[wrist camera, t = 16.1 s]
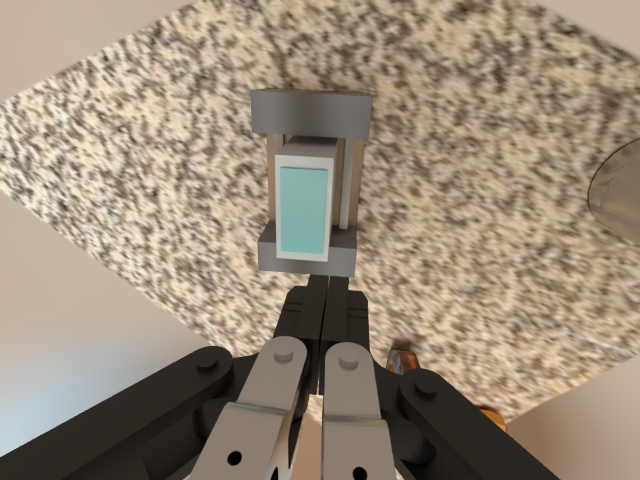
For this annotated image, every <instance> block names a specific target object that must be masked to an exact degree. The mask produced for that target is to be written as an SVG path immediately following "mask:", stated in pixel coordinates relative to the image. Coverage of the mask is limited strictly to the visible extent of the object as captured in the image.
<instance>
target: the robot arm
mask: <svg viewBox="0 0 640 480" xmlns="http://www.w3.org/2000/svg"><path fill="white" fill-rule="evenodd" d="M589 206H590V210H591V212H592V214H593V216H594V217H595V218H596V219H597V220H598V221H599V222H600V223H602V224H603V225H605V226H607V227H608V228H610V229H612V230H614V231H615V232H617V233H619V234H620V235H622V236H624V237H626V238H627V239H629V240H631V241H632V242H634V243H635V244H637V245H639V246H640V140H637V141H635V142H633V143H631V144H629V145H627V146H625V147H623V148H622V149H620V150H619V151H617V152H616V153H615V154H613V155H612V156H611V157H610V158H609V159H608V160H607V161H606V162H605V163H604V164H603V165H602V167H601V168H600V169H599V171H598V172H597V174H596V176H595V177H594V179H593V181H592V184H591V187H590V190H589ZM348 285H349V277H342V276H330V281H329V275H317V274H310V277H309V281H308V285H307V286H295V287H293V288H292V289H291V290H290V291H289V292H288V293H287V296H286V299H285V303H284V305H283V308H282V311H281V314H280V317H279V320H278V323H277V326H276V329H275V332H274V335H273V338H272V339H271V340H269V341H268V342H266V343H265V344H264V345H263V347H262V348H261V350H260V352H258V353H256V354H253V355H250V356H244V357H238V358H232V355H231V353H230V352H229V351H228V350H227V349H225V348H222V347H219V346H208V347H204V348H201V349H198V350H196V351H194V352H193V353H190V354H189V355H187V356H185V357H183V358H181V359H179V360H178V361H176V362H174V363H172V364H170V365H168V366H167V367H165V368H163V369H161V370H159V371H157V372H156V373H154V374H152V375H150V376H148V377H147V378H145V379H143V380H141V381H139V382H137V383H135V384H134V385H132V386H130V387H128V388H126V389H124V390H123V391H121V392H119V393H117V394H115V395H114V396H112V397H110V398H108V399H106V400H104V401H102V402H101V403H99V404H97V405H95V406H93V407H91V408H90V409H88V410H86V411H84V412H82V413H80V414H79V415H77V416H75V417H74V418H71V419H70V420H68V421H66V422H64V423H62V424H60V425H59V426H57V427H55V428H53V429H51V430H50V431H48V432H46V433H44V434H42V435H40V436H38V437H37V438H35V439H33V440H31V441H29V442H27V443H26V444H24V445H22V446H20V447H18V448H16V449H15V450H13V451H11V452H9V453H7V454H6V455H4V456H2V457H0V480H183V479H184V478H185V477H187V476H188V475H189V474H190V473H191V474H190V476H189V478H188V480H290V479H291V474H292V470H293V466H294V462H295V458H296V454H297V450H298V445H299V441H300V437H301V433H302V429H303V425H304V421H305V415H306V409H307V406H308V400H309V394H313V395H317V387H318V380H319V395H323V410H322V439H321V475H320V480H397V478H396V472H395V468H396V469H397V470H398V472H399V473H400V474H401V476H402V477H403V478H404V480H560V479H559V478H558V477H556V476H555V475H554V474H553V473H552V472H551V471H550V470H549V469H547V468H546V467H545V466H544V465H543V464H542V463H540V462H539V461H538V460H537V459H536V458H535V457H534V456H532V455H531V454H530V453H529V452H528V451H527V450H525V449H524V448H523V447H522V446H521V445H520V444H519V443H517V442H516V441H515V440H514V439H513V438H512V437H510V436H509V435H508V434H507V433H506V432H505V431H504V430H502V429H501V428H500V427H499V426H498V425H497V424H495V423H494V422H493V421H492V420H491V419H490V418H489V417H487V416H486V415H485V414H484V413H483V412H482V411H480V410H479V409H478V408H477V407H476V406H475V405H474V404H472V403H471V402H470V401H469V400H468V399H467V398H465V397H464V396H463V395H462V394H461V393H460V392H459V391H457V390H456V389H455V388H454V387H453V386H452V385H450V384H449V383H448V382H447V381H446V380H445V379H444V378H442V377H441V376H440V375H438V374H437V373H435V372H433V371H430V370H427V369H423V368H413V369H409V370H407V371H406V372H404V373H403V374H402V375H400V374H397V373H394V372H392V371H389V370H387V369H385V368H383V367H382V366H380V365H379V364H378V363H377V362H376V361H375V360H374V359H373V357H372V355H371V353H370V345H369V321H368V300H367V298H366V297H365V295H364V294H363V292H362V291H353V290H348ZM328 286H329V288H328ZM319 372H320V374H319Z"/></svg>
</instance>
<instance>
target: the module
mask: <svg viewBox="0 0 640 480" xmlns="http://www.w3.org/2000/svg"><path fill="white" fill-rule="evenodd" d="M337 146H338V138H336V137H318V136H301V135H294V136H293V137H292V138H291V139H290V140H289V141H288V142H287V143H286V144H285V145H284V146H283V147H282V148H281V149H280V150H279V151H278V152H277V153H276V154H275V188H276V253H277V258H286V259H298V260H311V261H324V262H328V253H329V245H330V237H331V228H332V220H333V206H334V191H335V176H336V161H337Z"/></svg>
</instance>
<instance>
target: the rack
mask: <svg viewBox="0 0 640 480" xmlns="http://www.w3.org/2000/svg"><path fill="white" fill-rule="evenodd" d="M250 92H251V113H252V133H265V134H267V152H268V189H269V222H268V224H267V226H266V227H265V229H264V231H263V233H262V234H261V236H260V238H259V240H258V242H257V244H258V265H259V270H265V271H277V272H290V273H303V274H317V275H329V276H342V277H353V278H354V272H355V263H356V253H357V240H356V221H357V211H358V201H359V190H360V180H361V170H362V160H363V150H364V140H365V139H368V137H369V127H370V118H371V108H372V98H373V97H372V96H371V95H370V94H369V93H356V92H336V91H316V90H296V89H275V88H267V89H259V90H251V91H250ZM294 135H301V136H318V137H336V138H338V146H337V161H336V176H335V191H334V206H333V220H332V228H331V237H330V245H329V253H328V262H324V261H311V260H298V259H286V258H277V253H276V188H275V154H276V153H277V152H278V151H279V150H280V149H281V148H282V147H283V146H284V145H285V144H286V143H287V142H288V141H289V140H290V139H291V138H292V137H293V136H294Z"/></svg>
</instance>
